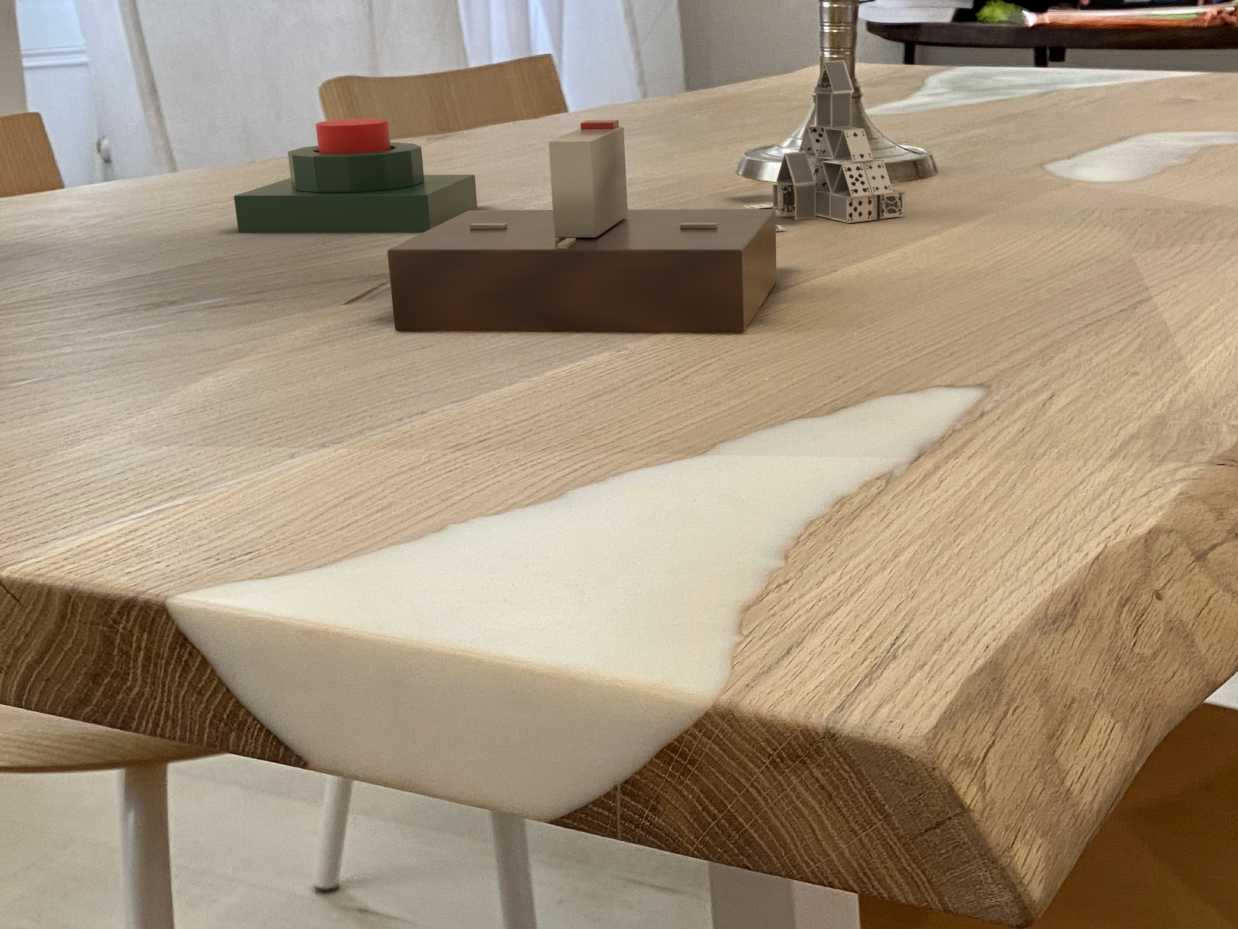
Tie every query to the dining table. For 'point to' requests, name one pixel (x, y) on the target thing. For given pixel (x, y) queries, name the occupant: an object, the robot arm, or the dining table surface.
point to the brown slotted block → (586, 273)
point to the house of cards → (834, 164)
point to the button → (353, 136)
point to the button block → (356, 194)
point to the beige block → (588, 179)
